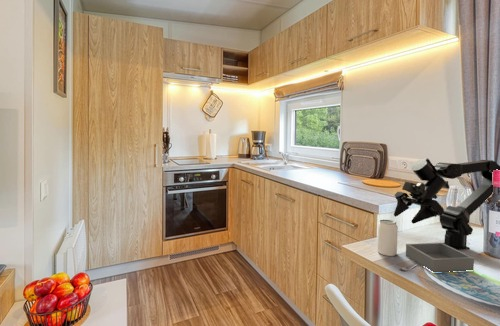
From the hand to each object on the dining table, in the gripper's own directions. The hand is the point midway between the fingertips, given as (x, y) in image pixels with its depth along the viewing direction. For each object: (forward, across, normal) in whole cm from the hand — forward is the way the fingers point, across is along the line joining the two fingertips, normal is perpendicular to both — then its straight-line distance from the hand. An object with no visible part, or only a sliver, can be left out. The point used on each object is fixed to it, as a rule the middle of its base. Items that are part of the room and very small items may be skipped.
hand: (403, 219), depth 104 cm
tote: (+6, +11, +12) cm, 17 cm away
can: (+14, 0, +5) cm, 14 cm away
